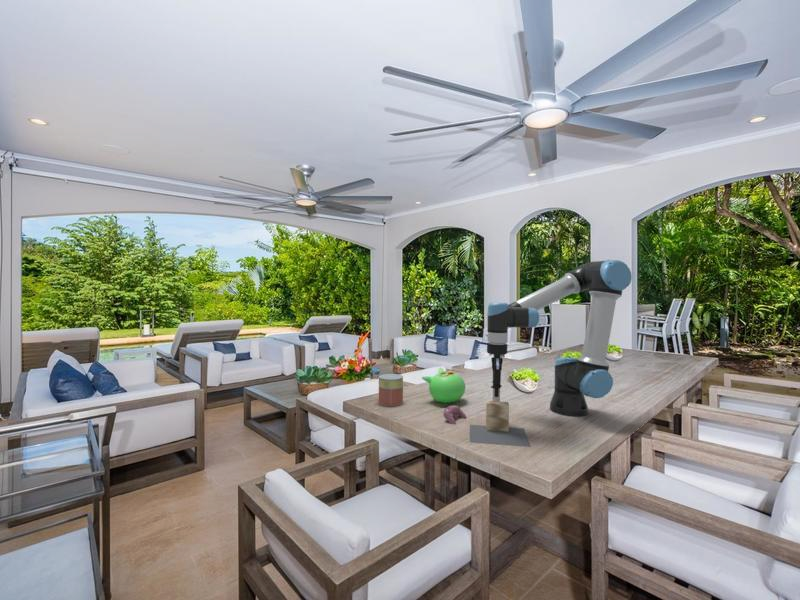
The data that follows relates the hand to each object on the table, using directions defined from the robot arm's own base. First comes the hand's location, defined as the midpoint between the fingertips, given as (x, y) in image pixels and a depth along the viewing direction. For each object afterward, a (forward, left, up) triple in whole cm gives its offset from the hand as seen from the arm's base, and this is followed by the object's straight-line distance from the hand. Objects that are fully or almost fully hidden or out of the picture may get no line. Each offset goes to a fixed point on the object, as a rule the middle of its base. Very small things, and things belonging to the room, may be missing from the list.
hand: (496, 404), depth 149 cm
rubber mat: (0, +10, -9) cm, 13 cm away
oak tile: (0, +5, -8) cm, 9 cm away
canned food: (+46, -22, -9) cm, 52 cm away
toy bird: (+21, -28, -9) cm, 36 cm away
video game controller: (+16, -3, -9) cm, 18 cm away
